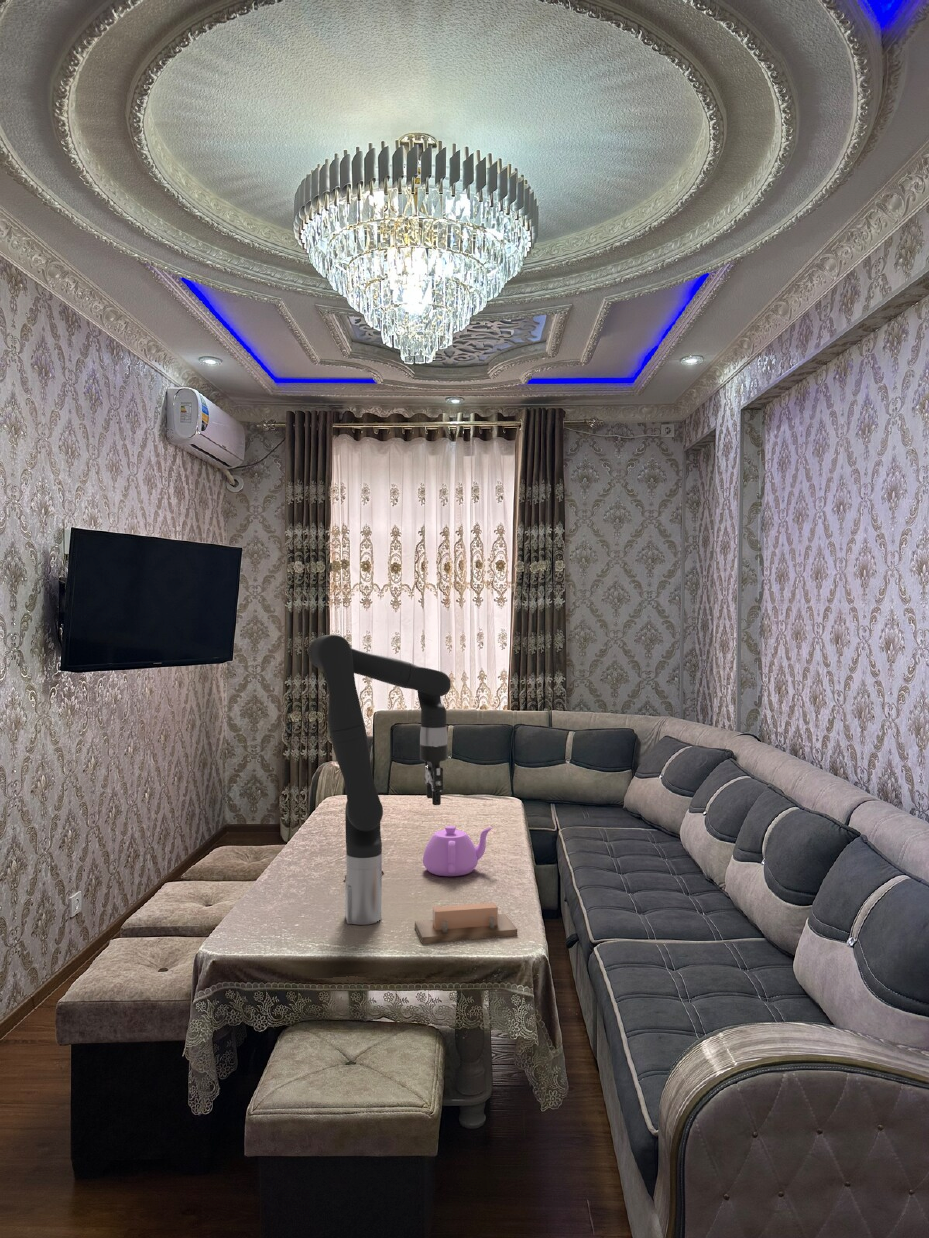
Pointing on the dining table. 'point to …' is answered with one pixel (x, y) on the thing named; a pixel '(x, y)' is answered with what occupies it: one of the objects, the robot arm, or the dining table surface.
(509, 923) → the rack
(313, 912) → the dining table surface
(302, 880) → the dining table surface
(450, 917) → the clay strip
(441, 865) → the teapot
